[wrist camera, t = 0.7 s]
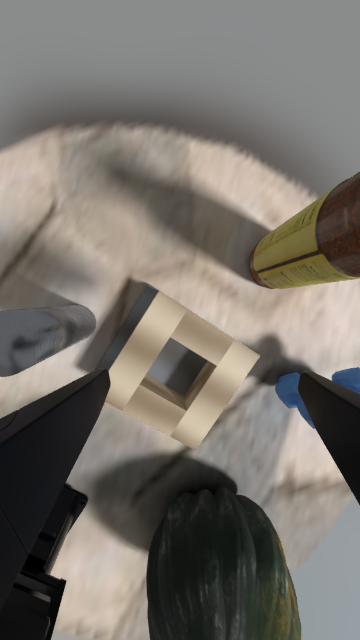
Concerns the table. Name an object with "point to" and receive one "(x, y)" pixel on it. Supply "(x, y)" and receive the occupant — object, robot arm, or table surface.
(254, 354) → the socket
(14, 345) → the peg
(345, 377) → the grapes
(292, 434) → the table surface
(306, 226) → the sauce bottle
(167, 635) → the squash
